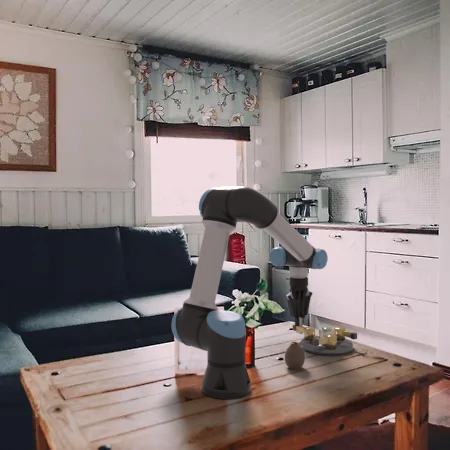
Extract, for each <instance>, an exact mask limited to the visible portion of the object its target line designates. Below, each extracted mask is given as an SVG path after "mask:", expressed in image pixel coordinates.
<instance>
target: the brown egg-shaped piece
mask: <svg viewBox="0 0 450 450" xmlns="http://www.w3.org/2000/svg"><path fill="white" fill-rule="evenodd" d="M305 359H306V356H305V352H304V350H303V349H302V348H301V345H300V344H299V342H298V341H292V342H290V344H289V346H288V347H287V348H286V350H285V353H284V362H285V364H286V367H287V368H288V369H290V370H295V371H296V370H300V369H301V368H302V367H303V366H304V364H305Z"/></svg>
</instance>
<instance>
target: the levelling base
mask: <svg viewBox="0 0 450 450" xmlns="http://www.w3.org/2000/svg"><path fill="white" fill-rule="evenodd" d="M326 334H334V335H335V330H334V328H332V327H331V326H322V327H321V328H319V329H318V335H315V338H316V339H317V338H322V337H325V335H326ZM300 347H301V348H302V350H303V352H304V351H305V352H306V353H309V354H313V355H316V354H317V356H324V357H325V356H326V357H339V356H340V357H341V356H345V355H348V354H351V353H352V352H353V350H354V344H353V342H352V341H351V340H348V339H347V338H345V340H344V341H337V348H336V349H327V348H325V344H321V345H318V346H314V345H312V341H306V340H304V338H302V339H301V340H300Z"/></svg>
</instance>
